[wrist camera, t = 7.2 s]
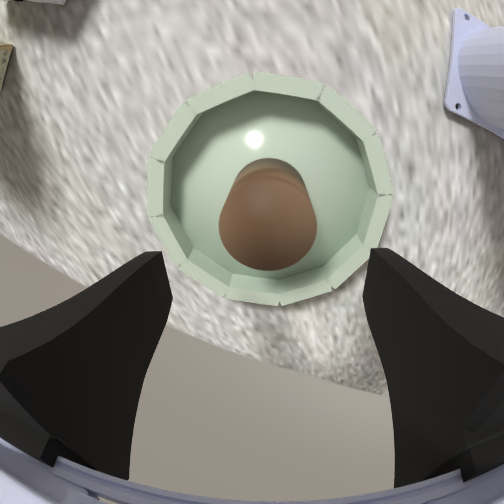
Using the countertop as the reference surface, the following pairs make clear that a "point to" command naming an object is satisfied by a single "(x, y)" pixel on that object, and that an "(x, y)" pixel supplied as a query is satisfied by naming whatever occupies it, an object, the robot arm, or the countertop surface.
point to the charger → (46, 1)
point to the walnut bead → (268, 216)
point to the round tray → (279, 147)
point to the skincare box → (4, 59)
